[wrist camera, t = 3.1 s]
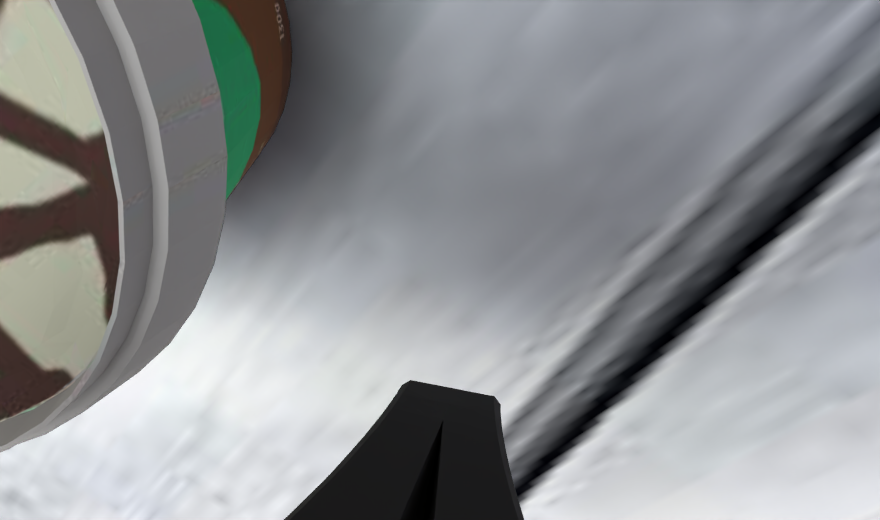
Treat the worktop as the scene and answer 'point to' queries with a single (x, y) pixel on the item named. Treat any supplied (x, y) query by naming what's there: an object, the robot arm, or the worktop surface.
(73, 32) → the food container
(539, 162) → the worktop surface
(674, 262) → the worktop surface
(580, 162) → the worktop surface
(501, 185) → the worktop surface
